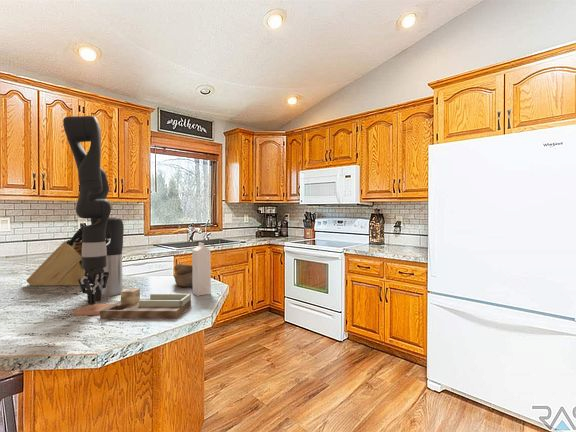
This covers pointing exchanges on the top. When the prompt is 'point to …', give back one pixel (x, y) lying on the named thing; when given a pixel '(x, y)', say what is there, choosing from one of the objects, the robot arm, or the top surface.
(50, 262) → the knife block
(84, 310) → the tile
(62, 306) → the top surface
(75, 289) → the top surface
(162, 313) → the dark brown flat tray
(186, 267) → the bowl
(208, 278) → the milk
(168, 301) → the grey green shallow tray
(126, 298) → the block
